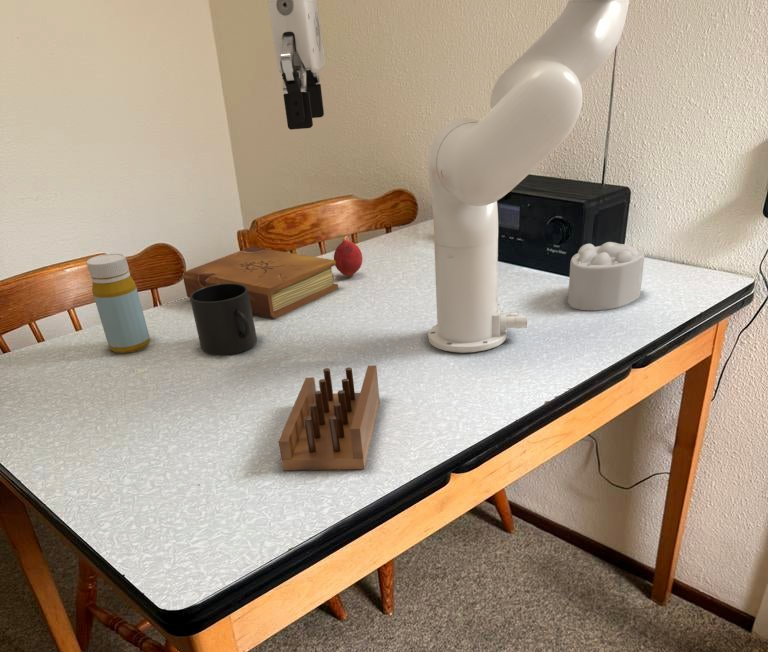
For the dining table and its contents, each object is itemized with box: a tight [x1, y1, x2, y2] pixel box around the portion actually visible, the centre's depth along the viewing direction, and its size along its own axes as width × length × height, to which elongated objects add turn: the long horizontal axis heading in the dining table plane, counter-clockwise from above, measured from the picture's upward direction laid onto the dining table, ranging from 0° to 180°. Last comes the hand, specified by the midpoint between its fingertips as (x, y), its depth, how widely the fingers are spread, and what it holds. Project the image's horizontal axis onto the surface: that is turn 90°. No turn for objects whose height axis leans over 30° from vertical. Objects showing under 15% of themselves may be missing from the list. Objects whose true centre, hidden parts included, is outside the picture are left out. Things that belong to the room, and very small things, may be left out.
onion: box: [333, 235, 363, 278], centre depth 151 cm, size 6×6×8 cm
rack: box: [277, 364, 381, 471], centre depth 97 cm, size 10×18×6 cm, turn 174°
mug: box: [189, 283, 258, 356], centre depth 124 cm, size 9×12×9 cm
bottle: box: [86, 252, 151, 354], centre depth 126 cm, size 7×7×15 cm
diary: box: [182, 246, 339, 320], centre depth 146 cm, size 23×19×6 cm
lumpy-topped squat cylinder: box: [567, 241, 645, 312], centre depth 129 cm, size 10×13×9 cm
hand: (306, 122), depth 101 cm, fingers open, 9 cm apart
